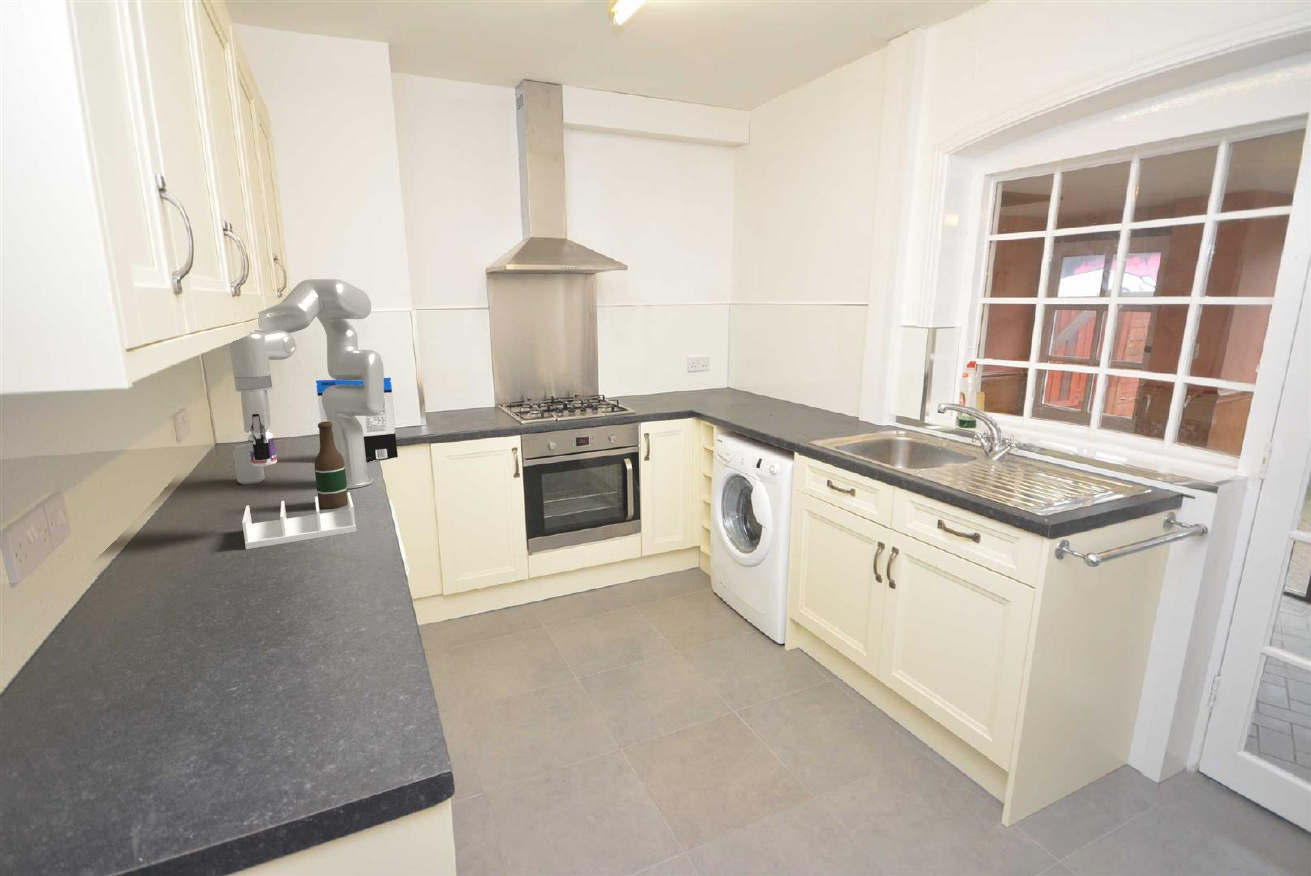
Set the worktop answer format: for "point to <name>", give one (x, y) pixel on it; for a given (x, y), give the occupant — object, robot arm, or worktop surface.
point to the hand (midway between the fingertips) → (263, 455)
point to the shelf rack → (297, 526)
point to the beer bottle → (330, 471)
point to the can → (246, 466)
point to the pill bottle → (271, 448)
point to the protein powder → (370, 422)
